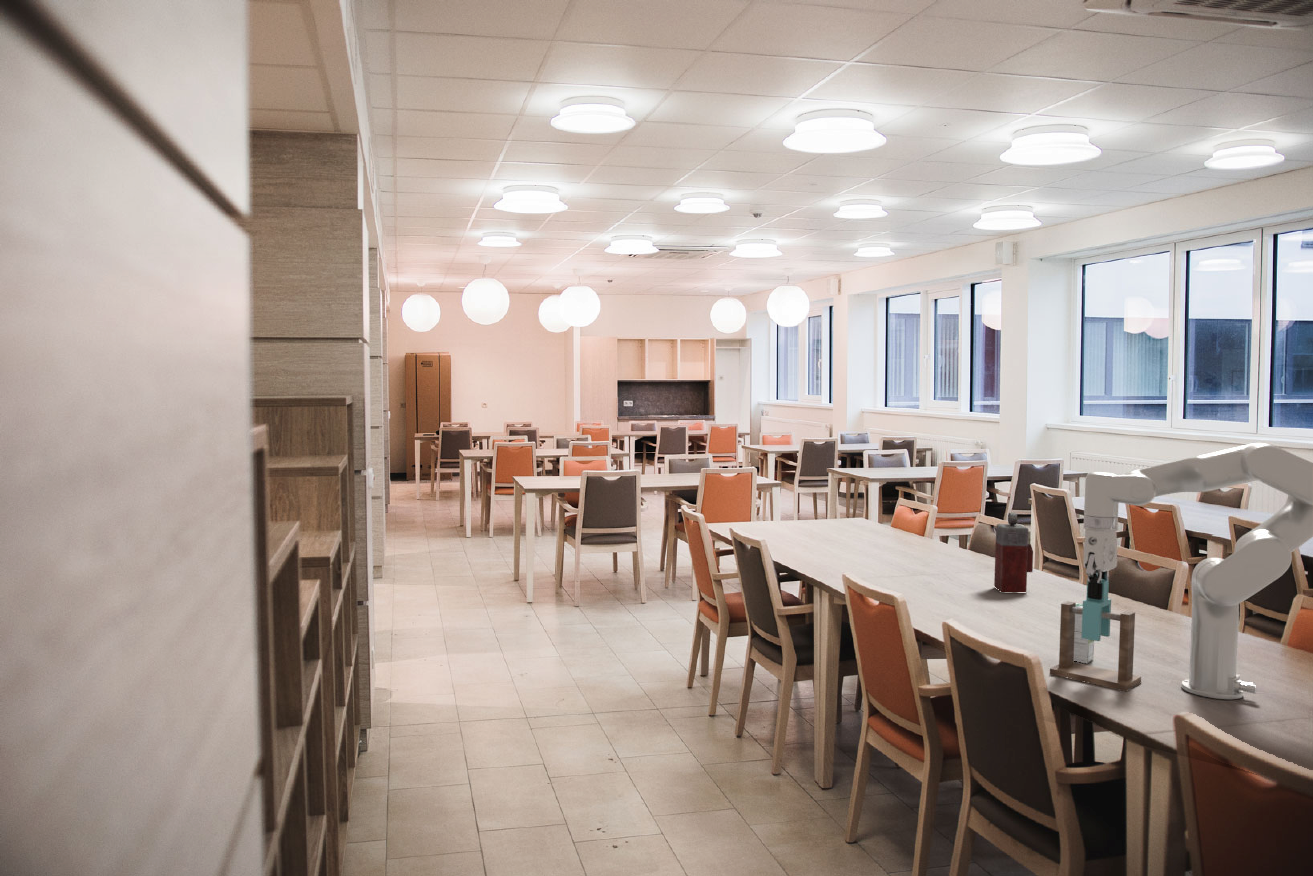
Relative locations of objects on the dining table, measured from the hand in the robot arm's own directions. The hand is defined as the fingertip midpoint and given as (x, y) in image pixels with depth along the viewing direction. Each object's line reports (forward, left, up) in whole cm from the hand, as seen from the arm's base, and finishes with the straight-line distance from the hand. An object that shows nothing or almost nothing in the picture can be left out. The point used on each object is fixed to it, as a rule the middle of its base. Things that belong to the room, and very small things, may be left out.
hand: (1097, 597), depth 230 cm
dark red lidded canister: (+60, -88, -20) cm, 108 cm away
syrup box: (+9, -14, -20) cm, 26 cm away
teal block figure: (0, 0, -10) cm, 10 cm away
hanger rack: (0, 0, -20) cm, 20 cm away
